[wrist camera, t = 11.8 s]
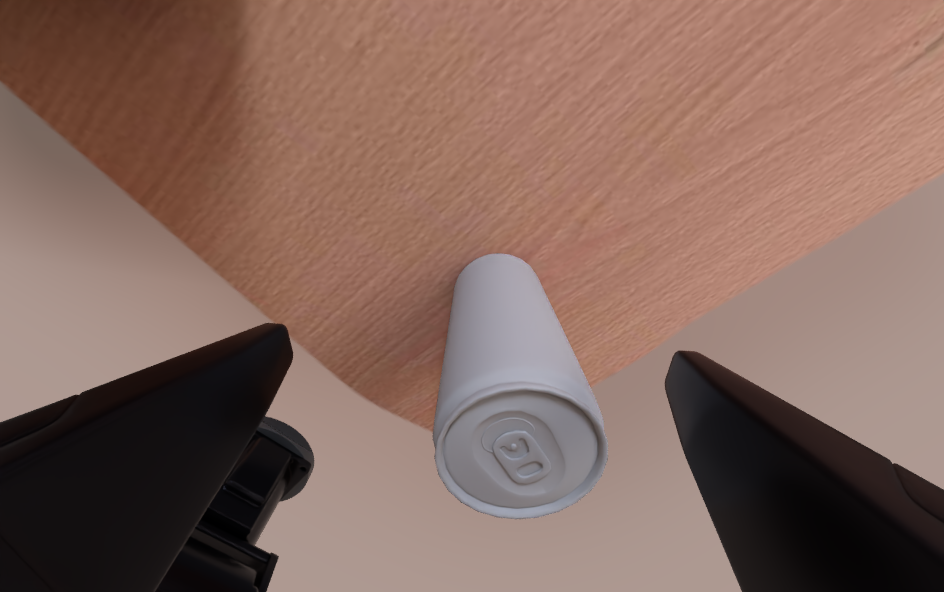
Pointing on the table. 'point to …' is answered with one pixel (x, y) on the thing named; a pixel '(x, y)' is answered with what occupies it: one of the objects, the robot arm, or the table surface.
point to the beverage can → (513, 399)
